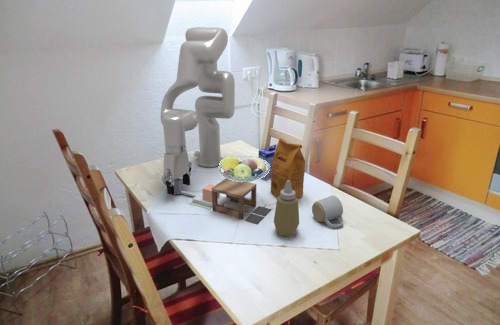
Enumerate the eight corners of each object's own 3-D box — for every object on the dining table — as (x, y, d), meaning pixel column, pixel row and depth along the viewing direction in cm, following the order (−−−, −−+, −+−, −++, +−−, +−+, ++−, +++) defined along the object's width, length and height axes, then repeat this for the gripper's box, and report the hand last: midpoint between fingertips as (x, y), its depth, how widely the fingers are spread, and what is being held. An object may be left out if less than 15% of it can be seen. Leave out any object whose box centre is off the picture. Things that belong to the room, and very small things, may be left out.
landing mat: (189, 203, 130) (189, 203, 130) (204, 192, 138) (204, 192, 138) (209, 209, 126) (209, 209, 126) (224, 198, 134) (224, 197, 134)
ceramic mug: (309, 216, 122) (311, 196, 119) (328, 210, 126) (330, 191, 123) (329, 232, 114) (331, 211, 111) (348, 225, 117) (351, 205, 114)
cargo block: (202, 199, 130) (202, 188, 128) (209, 194, 134) (209, 183, 132) (213, 202, 128) (212, 191, 126) (219, 197, 132) (219, 186, 130)
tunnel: (212, 211, 125) (211, 188, 122) (227, 198, 134) (227, 177, 130) (242, 219, 120) (242, 196, 117) (256, 206, 129) (256, 183, 125)
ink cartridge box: (265, 180, 149) (266, 148, 143) (257, 176, 153) (257, 145, 147) (282, 174, 155) (283, 143, 149) (273, 170, 159) (274, 140, 153)
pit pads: (244, 220, 120) (244, 220, 119) (258, 206, 129) (258, 205, 128) (257, 224, 117) (257, 223, 117) (271, 209, 126) (271, 209, 126)
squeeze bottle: (291, 242, 108) (294, 189, 101) (268, 234, 112) (270, 182, 105) (302, 229, 115) (306, 179, 108) (280, 222, 119) (282, 173, 112)
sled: (171, 195, 135) (169, 182, 133) (182, 188, 141) (181, 175, 139) (220, 209, 126) (219, 195, 124) (230, 200, 132) (229, 187, 129)
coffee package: (285, 185, 145) (287, 134, 136) (306, 197, 135) (310, 142, 127) (266, 191, 139) (267, 138, 131) (286, 204, 130) (289, 148, 122)
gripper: (182, 139, 139) (185, 179, 146) (151, 153, 125) (156, 196, 132) (197, 142, 136) (200, 182, 143) (168, 157, 122) (172, 201, 129)
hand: (179, 189), depth 137 cm, fingers open, 9 cm apart
